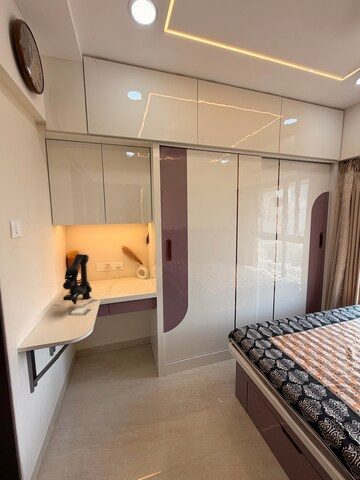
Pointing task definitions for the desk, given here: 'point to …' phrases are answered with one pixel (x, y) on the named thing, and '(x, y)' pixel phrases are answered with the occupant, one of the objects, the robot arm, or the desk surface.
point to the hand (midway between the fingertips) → (75, 304)
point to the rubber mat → (84, 313)
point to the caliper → (87, 303)
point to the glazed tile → (79, 311)
